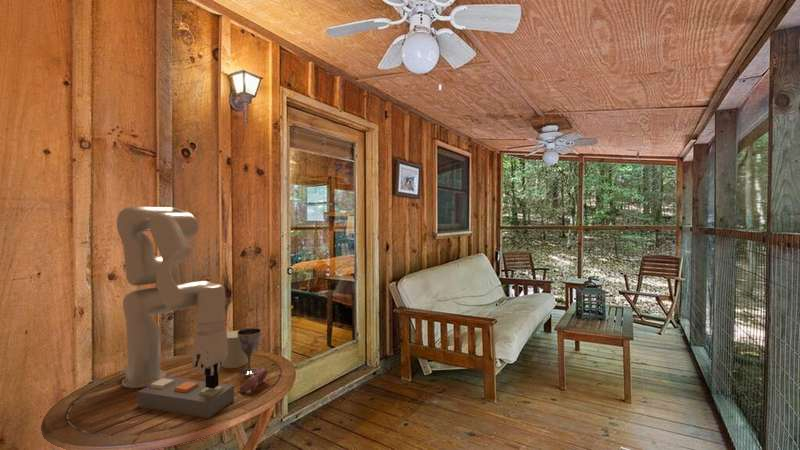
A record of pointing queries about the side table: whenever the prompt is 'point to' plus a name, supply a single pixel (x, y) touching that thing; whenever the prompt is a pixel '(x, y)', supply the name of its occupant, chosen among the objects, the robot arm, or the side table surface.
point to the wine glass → (249, 346)
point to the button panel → (185, 399)
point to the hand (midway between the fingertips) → (212, 386)
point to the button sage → (211, 391)
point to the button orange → (186, 387)
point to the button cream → (162, 383)
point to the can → (234, 352)
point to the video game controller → (254, 380)
